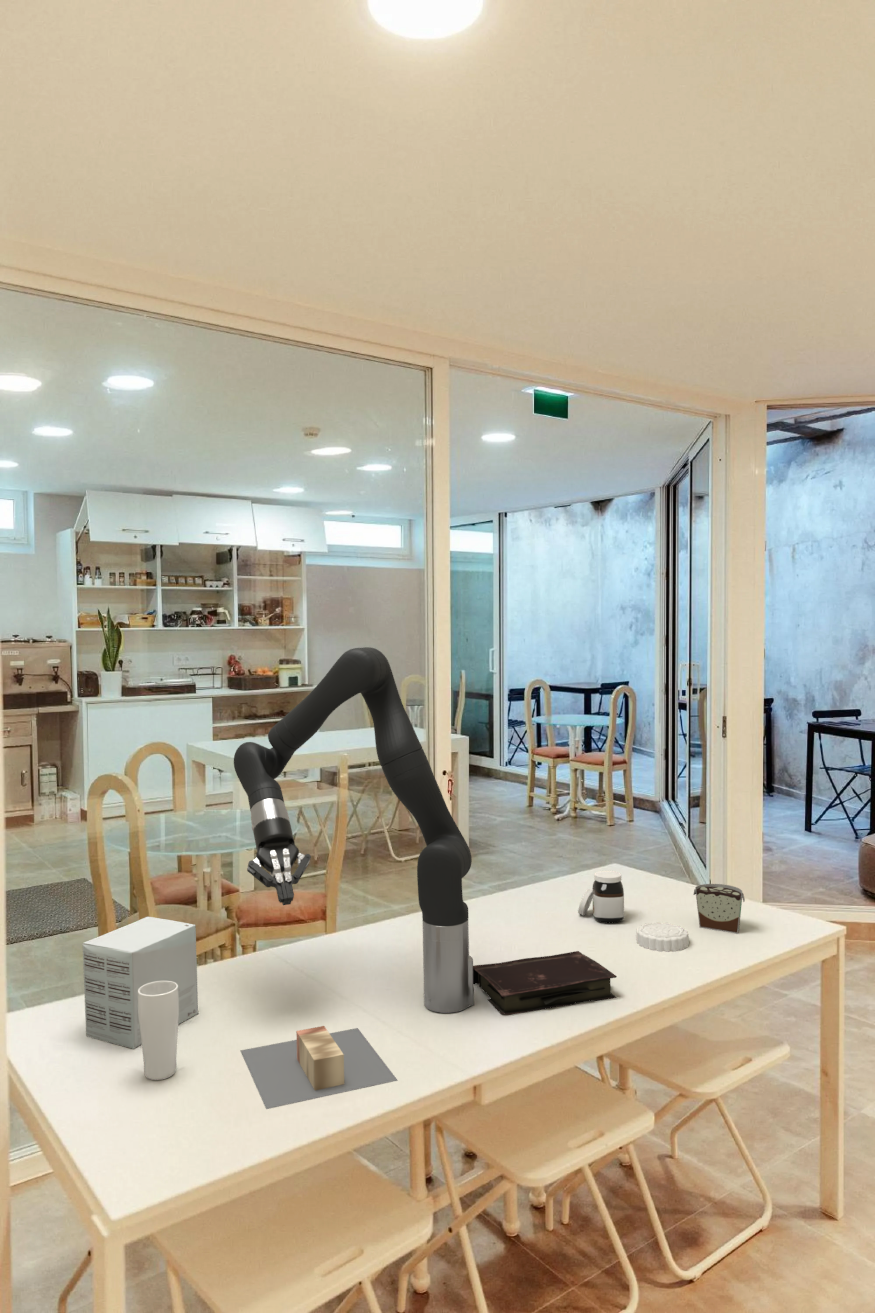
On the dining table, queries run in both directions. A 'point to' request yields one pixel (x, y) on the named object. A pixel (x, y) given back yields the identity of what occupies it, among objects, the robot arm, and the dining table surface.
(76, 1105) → the dining table surface
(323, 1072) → the oak block
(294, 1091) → the rubber mat
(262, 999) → the dining table surface
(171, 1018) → the drinking glass
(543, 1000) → the diary
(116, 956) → the supplement box
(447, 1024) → the dining table surface
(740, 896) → the food container
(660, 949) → the mooncake
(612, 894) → the spread jar
